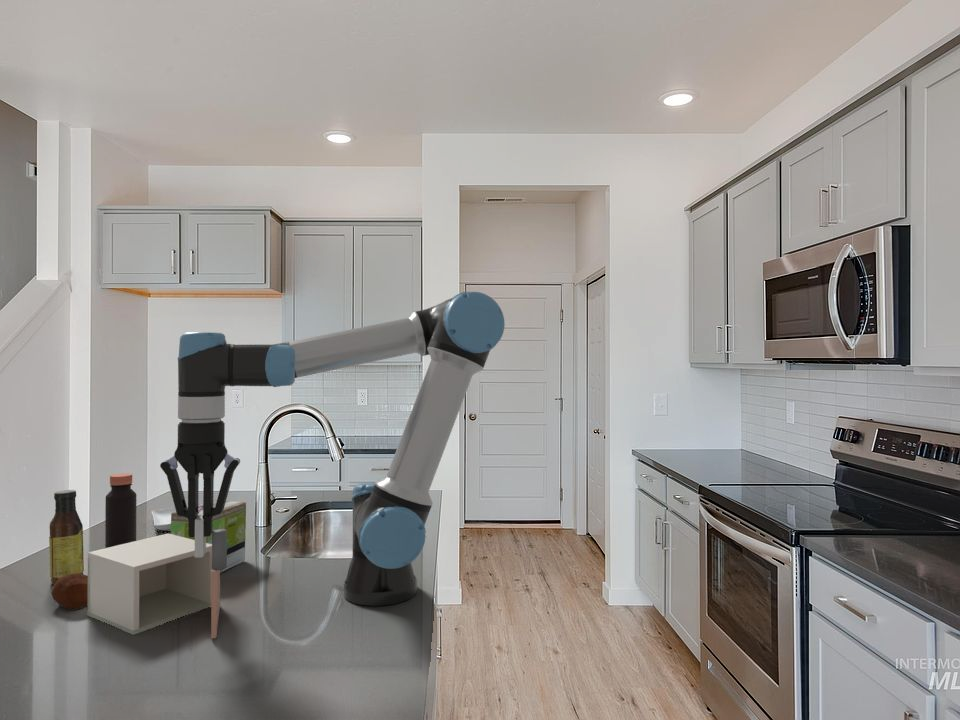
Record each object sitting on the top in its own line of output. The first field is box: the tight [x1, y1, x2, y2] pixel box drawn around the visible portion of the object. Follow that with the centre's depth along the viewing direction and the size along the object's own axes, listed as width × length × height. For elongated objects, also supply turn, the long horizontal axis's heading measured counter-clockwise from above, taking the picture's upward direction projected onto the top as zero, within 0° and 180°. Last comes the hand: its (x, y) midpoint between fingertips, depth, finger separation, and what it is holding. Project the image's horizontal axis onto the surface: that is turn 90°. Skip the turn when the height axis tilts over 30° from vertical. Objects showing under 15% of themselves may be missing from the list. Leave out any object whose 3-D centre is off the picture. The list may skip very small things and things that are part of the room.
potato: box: [51, 573, 88, 610], centre depth 124 cm, size 7×9×6 cm
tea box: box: [170, 499, 247, 574], centre depth 146 cm, size 15×10×15 cm, turn 168°
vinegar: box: [104, 473, 137, 549], centre depth 158 cm, size 7×7×20 cm
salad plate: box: [151, 505, 188, 532], centre depth 190 cm, size 21×21×3 cm
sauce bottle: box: [48, 489, 85, 586], centre depth 138 cm, size 7×6×20 cm
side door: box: [210, 529, 227, 639], centre depth 116 cm, size 16×2×18 cm, turn 21°
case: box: [87, 533, 212, 636], centre depth 122 cm, size 16×16×12 cm
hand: (200, 554), depth 110 cm, fingers closed
